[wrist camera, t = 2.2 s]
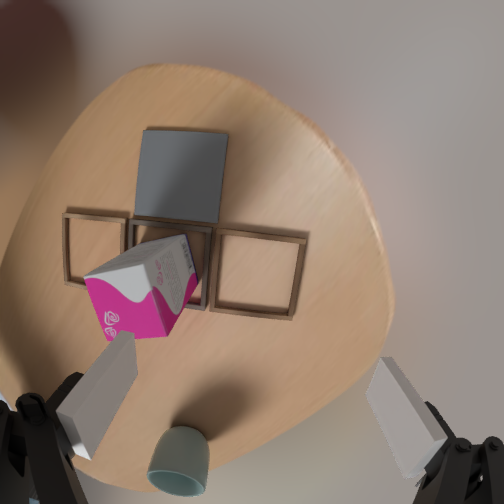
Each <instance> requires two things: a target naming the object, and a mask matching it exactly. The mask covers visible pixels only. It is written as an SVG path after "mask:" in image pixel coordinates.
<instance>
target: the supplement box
mask: <svg viewBox="0 0 504 504" xmlns="http://www.w3.org/2000/svg"><path fill="white" fill-rule="evenodd" d="M84 280H85V283H86V286H87V289H88V292H89V295H90V298H91V301H92V303H93V306H94V309H95V311H96V314H97V316H98V319H99V322H100V324H101V327H102V329H103V332H104V334H105V336H106V339H107V341H113V339H114V338H115V337H116V336H117V335H118V333H119V332H120V331H121V330H123V331H127V332H132V333H134V336H135V339H142V338H156V337H167V336H168V335H169V333H170V331H171V330H172V328H173V326H174V324H175V323H176V321H177V319H178V317H179V316H180V314H181V312H182V311H183V309H184V307H185V305H186V304H187V302H188V300H189V298H190V297H191V295H192V293H193V292H194V290H195V288H196V287H197V285H198V278H197V274H196V270H195V265H194V262H193V258H192V254H191V250H190V246H189V242H188V238H187V234H180V235H176V236H171V237H166V238H161V239H157V240H152V241H148V242H143V243H140V244H138V245H136V246H134V247H133V248H131V249H129V250H127V251H126V252H124V253H122V254H120V255H118V256H117V257H115V258H113V259H112V260H110V261H108V262H106V263H105V264H103V265H101V266H99V267H98V268H96V269H94V270H93V271H91V272H89V273H88V274H86V275H84Z"/></svg>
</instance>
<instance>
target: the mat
mask: <svg viewBox="0 0 504 504" xmlns="http://www.w3.org/2000/svg"><path fill="white" fill-rule="evenodd" d="M227 142H228V134H220V133H206V132H189V131H157V130H143V136H142V143H141V151H140V159H139V167H138V176H137V187H136V199H135V213H134V215H142V216H152V217H163V218H172V219H182V220H191V221H200V222H209V223H218V217H219V208H220V199H221V190H222V181H223V173H224V165H225V157H226V149H227Z"/></svg>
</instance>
